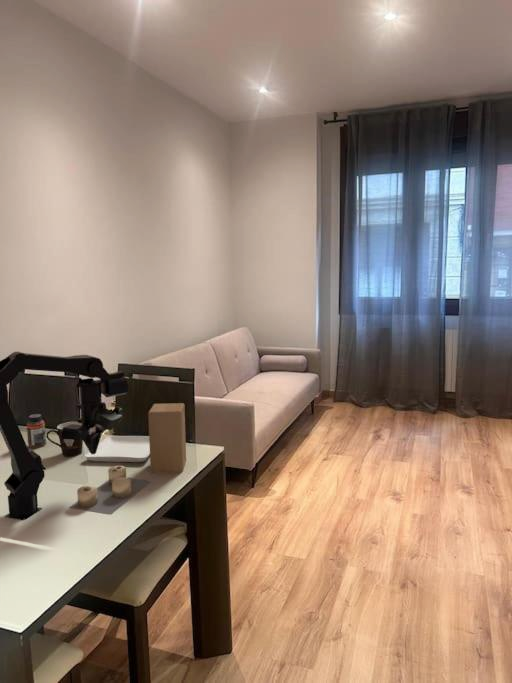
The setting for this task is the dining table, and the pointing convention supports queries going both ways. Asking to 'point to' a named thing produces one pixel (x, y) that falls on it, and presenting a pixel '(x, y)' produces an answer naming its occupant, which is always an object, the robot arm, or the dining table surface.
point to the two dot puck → (116, 473)
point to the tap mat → (106, 497)
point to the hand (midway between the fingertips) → (93, 453)
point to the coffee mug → (67, 441)
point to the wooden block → (167, 438)
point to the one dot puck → (87, 496)
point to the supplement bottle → (36, 431)
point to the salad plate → (122, 449)
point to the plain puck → (121, 488)
